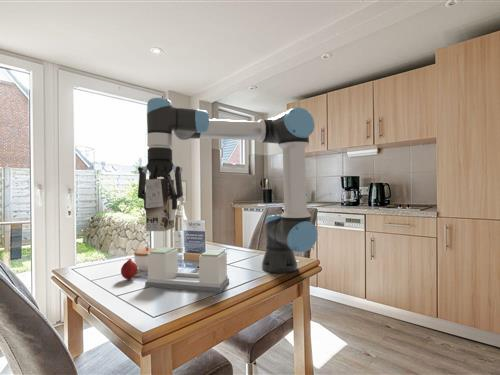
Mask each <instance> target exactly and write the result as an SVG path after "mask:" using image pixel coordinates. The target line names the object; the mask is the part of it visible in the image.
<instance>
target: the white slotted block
mask: <svg viewBox="0 0 500 375" xmlns="http://www.w3.org/2000/svg"><path fill="white" fill-rule="evenodd" d="M227 255H228V252H227V250H225V249H207V250H206V251H204V252H202V253H201V254H200V255H199V256H198V272H183V271H179V264H178V263H179V249H178V248H176V247H167V246H166V247H165V246H162V247H161V246H160V247H157V248H156V250H153V251H150V253H148V271H147V278H146V281H145V282H144V286H145V287H148V288H160V289H161V288H163V289H173V290H174V289H176V290H187V291H197V292H198V291H199V292H212V293H213V292H214V293H222V291H223V290H224V289H225V288H226V287H227V286H228V284H229V283H230V278H229V277H228V268H227V267H228V266H227V265H228V264H227V263H228V262H227V261H228V260H227V259H228V258H227V257H228V256H227Z"/></svg>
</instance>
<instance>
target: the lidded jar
mask: <svg viewBox="0 0 500 375" xmlns="http://www.w3.org/2000/svg"><path fill="white" fill-rule="evenodd" d="M156 249H157V248H155V247H154V248H153V247H152V248H151V247H150V248H149V246H146V247H145V248H141V249H137V250H134V251H133V258H134V263H135V264H136V265H137V267H138V270H140V271H143V272H146V271H147V270H148V253H150V251H153V250H156ZM147 272H148V271H147Z"/></svg>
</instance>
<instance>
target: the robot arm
mask: <svg viewBox="0 0 500 375" xmlns="http://www.w3.org/2000/svg"><path fill="white" fill-rule="evenodd" d="M146 104H147V106H146V126H147V128H146V131H147V132H146V135H147V141H146V142H147V143H146V144H147V145H146V146H147V147H148V148H147V163H146V165H145V166H138V167H137V171H138V174H139V175H138V176H139V177H138V187H137V198H139V199H142V200H143V209H144V210H145V211H146V179H147V172H149V173H150V175H149V178H148V179H158V178H163V179H169V193H170V195H171V199H172V200H169V221H172V220H174V221H175V211H176V210H177V209H178V199H180V198H183V196H184V192H183V184H182V176H181V175H182V171H183V167H182V166H178V165H177V166H175V165H174V163H173V150H172V149H171V148H172V147H173V134H174V136H175V137H176V138H177V139H179V140H182V141H186V140H189V139H193V140H194V139H206V140H207V139H211V140H245V141H247V140H248V141H249V140H250V141H257V142H258V143H267V144H268V143H269V144H278V147H279V148H280V149H281V150H282V165H283V169H282V170H283V172H282V173H283V199H284V201H283V205H284V206H283V207H284V208H283V209H284V210H283V212H282V213H281V214H273V215H267V216H266V218H265V223H264V224H265V253H264V256H263V259H262V261H261V269H262V270H263V271H265V272H268V273H274V274H275V273H276V274H285V273H286V274H288V273H293V272H295V271H297V270H298V262H297V259H296V256H295V253H294V252H298V253H305V252H308V251H310V250H311V249H312V248H313V247H314V246H315V244H316V242H317V240H318V229H317V227H316V226H315V225H314V223H313V222H312V215H311V213H309V211H308V208H307V207H308V206H307V204H308V203H307V202H308V201H307V174H306V173H307V169H306V168H307V167H306V166H307V164H306V149H307V147H308V146H309V145H310V136H311V135H312V133H313V132H314V130H315V120H314V117H313V115H312V114H311V113H310V112H309V110H307V109H305V108H303V107H299V106H298V107H294V108H290V109H287V110H286V111H285V112H282V113H281V114H279V115H277V116H275V117H271V118H266V119H262V118H260V119H259V120H258V121H254V120H253V121H252V120H236V119H234V120H233V119H217V118H212V119H210V116H209V113H208V111H207V110H204V109H198V108H196V109H195V108H187V107H186V108H185V107H175V106H173V105H172V101H171V100H169V99H168V98H163V97H153V98H149V99H148V100H147V103H146ZM172 171H173V172H174V179H175V181H174V182H175V185H174V186H173V183H172V180H173V179H172V176H171V172H172Z"/></svg>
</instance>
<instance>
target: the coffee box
mask: <svg viewBox="0 0 500 375" xmlns="http://www.w3.org/2000/svg"><path fill="white" fill-rule="evenodd" d="M171 180H172V183H173V186H174V187H175V181H174V179H171ZM145 191H146V210H145V232H166V231H167V232H168V231H169V230H171V229H174V228H175V219H174V220H172V221H169V200H172V199H171V195H170V193H169V179H164V178H157V179H149V178H146V185H145Z"/></svg>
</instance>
